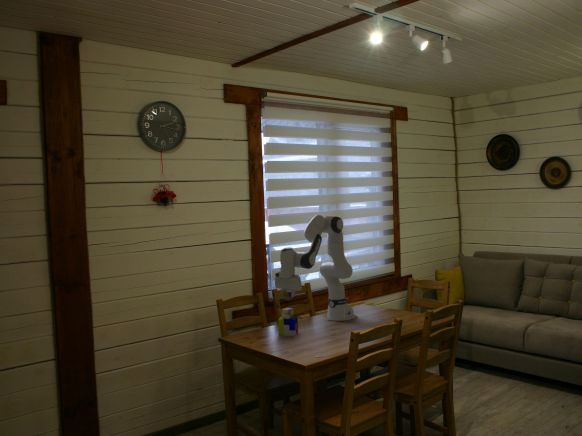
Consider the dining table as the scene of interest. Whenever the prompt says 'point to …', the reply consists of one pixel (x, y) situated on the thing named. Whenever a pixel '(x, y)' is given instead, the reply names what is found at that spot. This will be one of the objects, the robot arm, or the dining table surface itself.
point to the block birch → (287, 313)
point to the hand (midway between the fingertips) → (288, 296)
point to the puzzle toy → (288, 326)
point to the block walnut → (287, 295)
